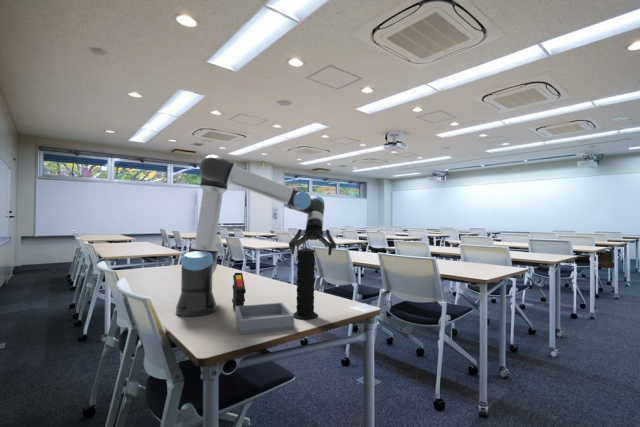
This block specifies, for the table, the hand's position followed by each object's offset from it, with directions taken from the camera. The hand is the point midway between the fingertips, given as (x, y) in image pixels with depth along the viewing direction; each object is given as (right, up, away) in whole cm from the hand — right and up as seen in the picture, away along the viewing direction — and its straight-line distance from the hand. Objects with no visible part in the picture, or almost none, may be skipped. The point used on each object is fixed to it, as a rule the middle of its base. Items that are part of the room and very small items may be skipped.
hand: (310, 260), depth 132 cm
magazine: (-29, -20, -3) cm, 36 cm away
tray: (-17, -20, -17) cm, 31 cm away
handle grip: (-2, -21, -8) cm, 22 cm away
